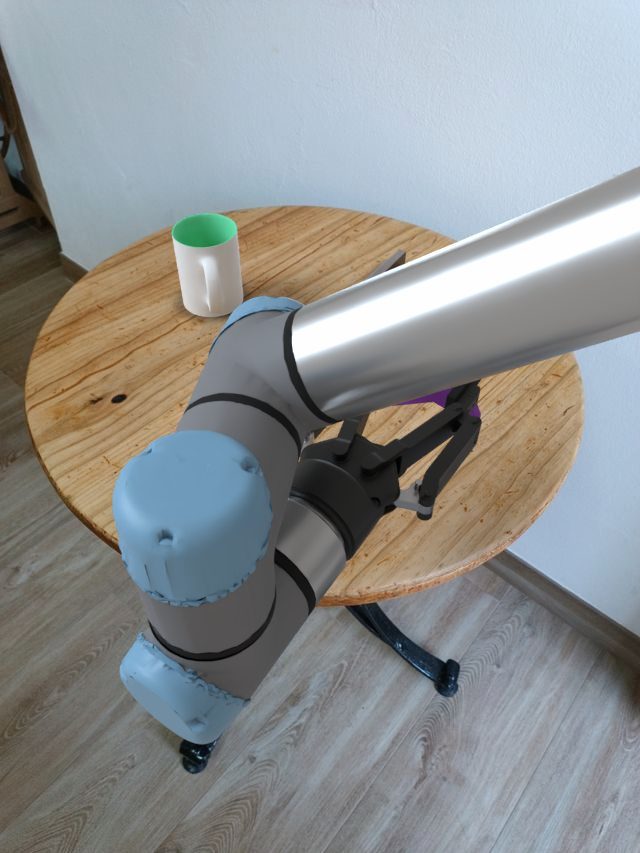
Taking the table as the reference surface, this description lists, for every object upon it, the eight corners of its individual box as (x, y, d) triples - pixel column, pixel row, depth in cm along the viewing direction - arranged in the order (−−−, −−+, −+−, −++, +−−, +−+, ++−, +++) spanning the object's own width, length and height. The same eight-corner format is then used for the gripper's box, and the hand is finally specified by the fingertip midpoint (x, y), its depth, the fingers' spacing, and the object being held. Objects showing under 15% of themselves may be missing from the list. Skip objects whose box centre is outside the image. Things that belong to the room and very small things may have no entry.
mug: (254, 329, 88) (249, 260, 81) (192, 340, 87) (180, 270, 79) (237, 277, 96) (230, 209, 89) (179, 286, 95) (167, 218, 87)
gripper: (212, 505, 55) (360, 348, 69) (415, 621, 48) (537, 422, 62) (200, 442, 50) (364, 285, 63) (427, 563, 43) (558, 358, 56)
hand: (449, 353), depth 62 cm, fingers closed on arrowhead, 5 cm apart
